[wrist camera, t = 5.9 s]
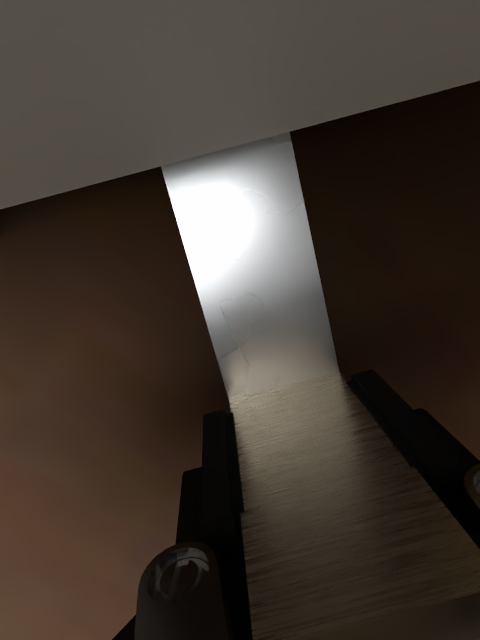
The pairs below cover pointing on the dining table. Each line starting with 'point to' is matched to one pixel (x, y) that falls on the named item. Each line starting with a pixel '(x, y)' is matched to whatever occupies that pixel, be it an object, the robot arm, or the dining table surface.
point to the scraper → (310, 427)
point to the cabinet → (204, 77)
